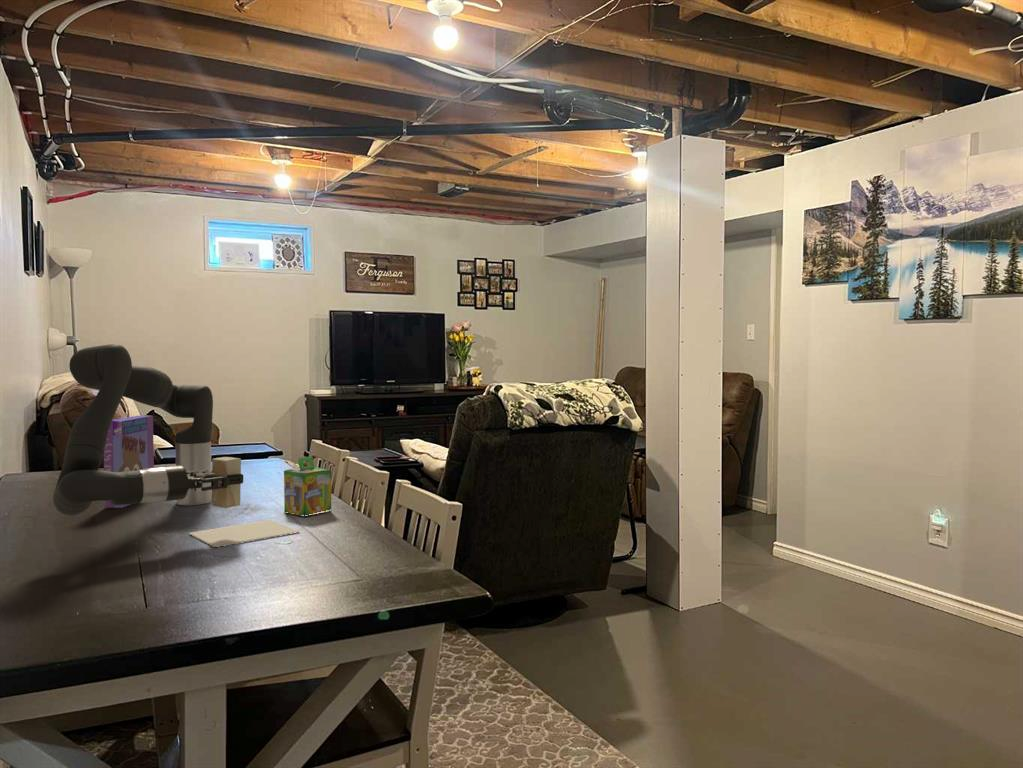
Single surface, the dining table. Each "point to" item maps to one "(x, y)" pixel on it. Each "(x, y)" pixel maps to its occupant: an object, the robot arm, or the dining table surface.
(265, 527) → the mat
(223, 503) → the box
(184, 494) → the robot arm
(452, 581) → the dining table surface
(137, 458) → the cereal box
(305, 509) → the chalk box
